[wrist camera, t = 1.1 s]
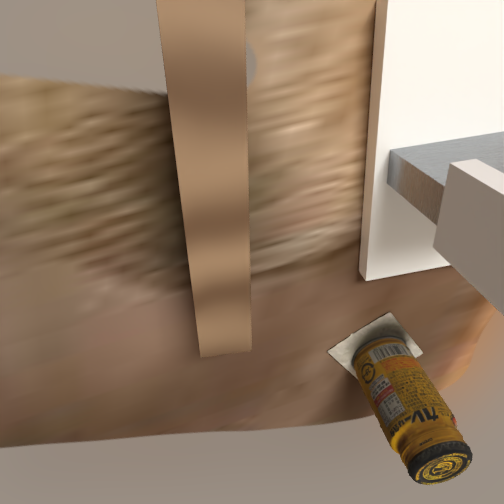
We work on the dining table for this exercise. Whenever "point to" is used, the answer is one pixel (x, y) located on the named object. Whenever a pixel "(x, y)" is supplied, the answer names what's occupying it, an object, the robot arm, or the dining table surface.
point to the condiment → (405, 400)
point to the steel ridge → (438, 168)
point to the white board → (424, 112)
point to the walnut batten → (212, 161)
